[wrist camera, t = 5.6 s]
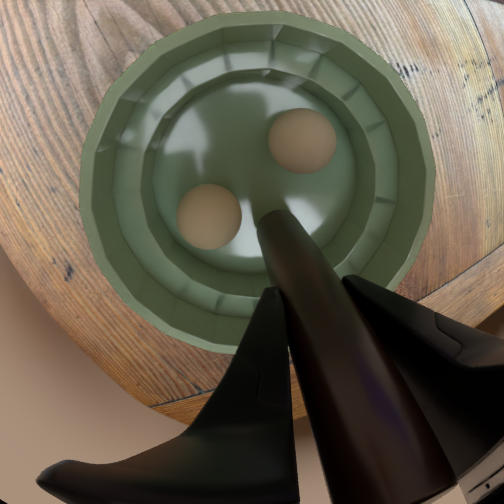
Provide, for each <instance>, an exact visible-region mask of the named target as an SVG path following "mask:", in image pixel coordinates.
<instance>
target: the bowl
mask: <svg viewBox="0 0 504 504" xmlns="http://www.w3.org/2000/svg"><path fill="white" fill-rule="evenodd" d="M294 108H308V109H312V110H315V111H317V112H319V113H321V114H322V115H324V116H325V117H326V118H327V119H328V120H329V121H330V123H331V124H332V126H333V128H334V131H335V133H336V139H337V146H336V151H335V154H334V156H333V158H332V159H331V161H330V162H329V163H328V164H327V165H326V166H325V167H324V168H322V169H321V170H319V171H317V172H314V173H310V174H297V173H293V172H291V171H288V170H286V169H285V168H283V167H282V166H280V165H279V164H278V163H277V161H276V160H275V159H274V157H273V156H272V154H271V151H270V148H269V143H268V137H269V132H270V128H271V126H272V124H273V122H274V121H275V120H276V119H277V118H278V117H279V116H280V115H281V114H282V113H284V112H286V111H288V110H291V109H294ZM82 149H83V150H82V154H81V167H80V187H79V208H80V209H79V211H80V214H81V218H82V222H83V225H84V228H85V232H86V235H87V238H88V242H89V245H90V248H91V251H92V254H93V257H94V260H95V261H96V264H97V265H98V267H99V268H100V270H101V271H102V273H103V274H104V276H105V277H106V278H107V280H108V281H109V283H110V284H111V285H112V287H113V288H114V290H115V291H116V292H117V294H118V295H119V296H120V298H121V299H122V300H123V302H124V303H125V304H126V305H127V306H128V307H129V308H131V309H132V310H133V311H135V312H136V313H137V314H138V315H140V316H141V317H142V318H144V319H145V320H146V321H148V322H149V323H150V324H152V325H153V326H154V327H156V328H157V329H158V330H160V331H161V332H163V333H164V334H166V335H168V336H170V337H173V338H175V339H178V340H180V341H183V342H186V343H188V344H191V345H193V346H196V347H199V348H201V349H204V350H207V351H211V352H216V353H225V354H236V350H237V348H238V346H239V344H240V341H241V339H242V337H243V335H244V332H245V330H246V328H247V326H248V323H249V321H250V319H251V317H252V314H253V312H254V310H255V308H256V305H257V303H258V301H259V299H260V296H261V294H262V292H263V290H264V288H267V287H271V284H270V280H269V277H268V273H267V270H266V266H265V263H264V259H263V256H262V252H261V249H260V245H259V242H258V239H257V234H256V231H257V226H258V223H259V221H260V220H261V218H262V217H263V216H264V215H266V214H267V213H269V212H271V211H274V210H285V211H288V212H290V213H292V214H293V215H294V216H295V217H296V218H297V219H298V220H299V222H300V223H301V225H302V226H303V227H304V229H305V230H306V231H307V233H308V234H309V236H310V237H311V238H312V240H313V241H314V242H315V244H316V245H317V247H318V248H319V249H320V251H321V252H322V254H323V255H324V257H325V258H326V259H327V261H328V262H329V264H330V265H331V267H332V268H333V269H334V271H335V272H336V274H337V275H338V277H339V278H340V280H342V277H343V276H345V275H351V274H355V275H357V276H360V277H362V278H364V279H366V280H369V281H371V282H373V283H375V284H377V285H380V286H382V287H384V288H386V289H388V290H390V291H394V290H395V289H396V287H397V286H398V285H399V283H400V282H401V281H402V279H403V278H404V277H405V275H406V274H407V273H408V271H409V270H410V269H411V267H412V266H413V264H414V263H415V260H416V258H417V256H418V253H419V251H420V248H421V246H422V243H423V241H424V238H425V236H426V233H427V231H428V228H429V225H430V223H431V218H432V212H433V202H434V191H435V178H436V169H435V168H436V166H435V161H434V156H433V151H432V147H431V142H430V138H429V134H428V130H427V126H426V122H425V119H424V118H423V114H422V112H421V111H420V109H419V107H418V105H417V104H416V102H415V100H414V99H413V97H412V95H411V94H410V92H409V91H408V89H407V87H406V86H405V84H404V83H403V81H402V80H401V78H400V77H399V75H398V74H397V72H396V71H395V70H393V67H392V66H390V65H389V64H388V63H387V62H386V61H385V60H383V59H382V58H381V57H380V56H379V55H377V54H376V53H375V52H374V51H372V50H371V49H370V48H369V47H367V46H366V45H365V44H363V43H362V42H361V41H360V40H358V39H357V38H356V37H354V36H353V35H351V34H350V33H349V32H346V31H345V30H342V29H340V28H337V27H334V26H332V25H329V24H326V23H323V22H320V21H317V20H314V19H311V18H308V17H304V16H301V15H298V14H294V13H290V12H284V11H256V12H239V13H227V14H219V15H214V16H211V17H209V18H206V19H204V20H201V21H199V22H197V23H194V24H192V25H190V26H187V27H185V28H183V29H181V30H179V31H176V32H174V33H172V34H170V35H168V36H166V37H164V38H162V39H160V40H158V41H156V42H155V44H152V45H151V46H150V47H149V48H148V49H147V50H146V51H145V52H144V53H143V54H142V55H141V56H140V57H139V58H138V59H137V60H136V61H135V62H134V63H133V64H132V65H131V66H130V67H129V68H128V69H127V70H126V71H125V72H124V73H123V74H122V75H121V76H120V77H119V78H118V79H117V80H116V82H115V83H114V84H113V85H112V86H111V87H110V88H109V89H108V91H107V92H106V94H105V96H104V98H103V100H102V102H101V105H100V107H99V109H98V111H97V113H96V116H95V118H94V120H93V123H92V125H91V127H90V130H89V132H88V135H87V137H86V140H85V142H84V145H83V148H82ZM203 184H216V185H220V186H222V187H224V188H226V189H228V190H229V191H230V192H231V193H233V195H234V196H235V197H236V198H237V200H238V202H239V204H240V207H241V211H242V222H241V226H240V229H239V231H238V233H237V235H236V236H235V237H234V239H233V240H232V241H231V242H229V243H228V244H227V245H225V246H223V247H221V248H218V249H213V250H205V249H200V248H197V247H194V246H193V245H191V244H189V243H188V242H187V241H186V240H185V239H184V238H183V237H182V235H181V233H180V232H179V229H178V227H177V222H176V212H177V208H178V205H179V202H180V201H181V199H182V198H183V196H184V195H185V194H186V193H187V192H188V191H189V190H191V189H192V188H194V187H196V186H199V185H203ZM288 351H289V347H288ZM289 352H290V351H289Z"/></svg>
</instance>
